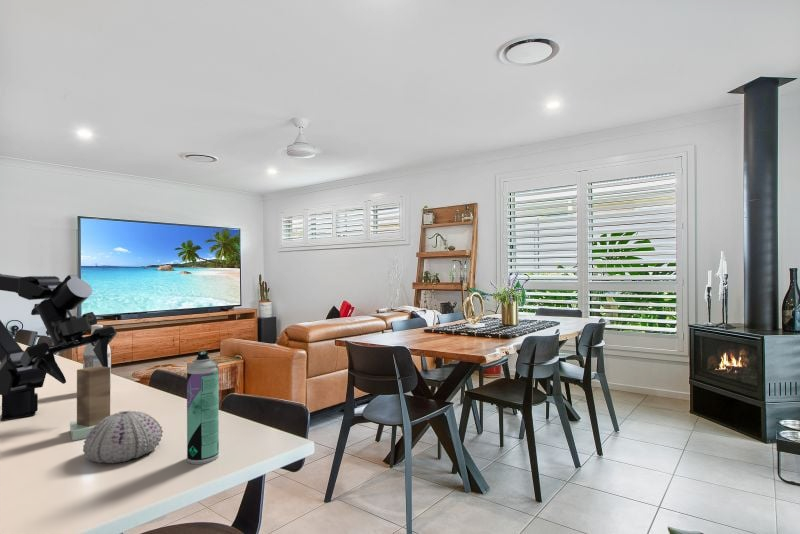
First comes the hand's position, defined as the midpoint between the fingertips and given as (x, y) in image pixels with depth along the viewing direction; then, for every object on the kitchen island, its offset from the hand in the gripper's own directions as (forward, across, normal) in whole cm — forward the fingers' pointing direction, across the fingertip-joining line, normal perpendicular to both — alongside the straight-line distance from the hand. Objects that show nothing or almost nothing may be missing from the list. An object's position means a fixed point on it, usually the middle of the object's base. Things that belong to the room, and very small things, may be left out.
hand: (86, 375), depth 107 cm
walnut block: (+12, -4, -3) cm, 13 cm away
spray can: (+33, -2, -31) cm, 45 cm away
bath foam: (-4, +14, +32) cm, 35 cm away
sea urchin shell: (+23, -8, -18) cm, 30 cm away
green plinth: (+14, -4, -2) cm, 14 cm away
